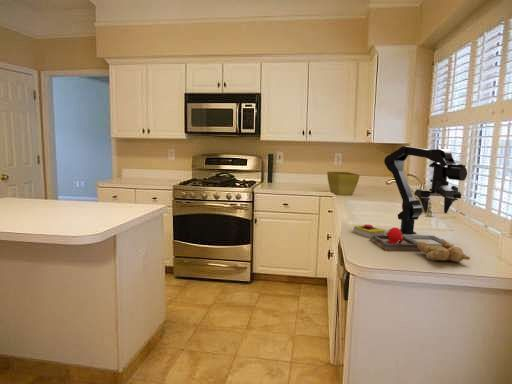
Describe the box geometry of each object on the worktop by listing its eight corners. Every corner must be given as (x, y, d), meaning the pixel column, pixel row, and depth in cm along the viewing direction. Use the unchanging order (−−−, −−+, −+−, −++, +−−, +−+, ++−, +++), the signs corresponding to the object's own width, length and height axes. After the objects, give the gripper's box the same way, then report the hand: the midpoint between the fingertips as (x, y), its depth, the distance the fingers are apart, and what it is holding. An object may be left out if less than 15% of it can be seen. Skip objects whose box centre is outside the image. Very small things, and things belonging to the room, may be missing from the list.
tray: (402, 237, 168) (403, 234, 168) (433, 238, 170) (433, 235, 169) (420, 247, 154) (420, 243, 154) (453, 248, 155) (453, 244, 155)
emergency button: (366, 221, 180) (389, 229, 167) (365, 230, 181) (389, 238, 168) (351, 222, 176) (374, 230, 163) (350, 232, 177) (373, 240, 164)
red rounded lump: (387, 231, 160) (384, 226, 155) (402, 228, 157) (398, 223, 153) (390, 249, 156) (386, 244, 151) (405, 246, 153) (402, 241, 149)
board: (370, 240, 162) (370, 234, 161) (403, 240, 163) (403, 235, 163) (385, 250, 147) (385, 244, 146) (421, 251, 148) (422, 245, 148)
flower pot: (358, 195, 292) (360, 174, 290) (337, 196, 287) (338, 174, 284) (345, 192, 310) (347, 172, 308) (325, 192, 304) (326, 171, 302)
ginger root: (474, 266, 129) (471, 243, 128) (425, 270, 133) (421, 248, 133) (463, 254, 144) (459, 234, 143) (418, 259, 148) (415, 239, 148)
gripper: (429, 179, 155) (425, 216, 158) (471, 181, 157) (467, 217, 159) (415, 176, 166) (412, 211, 168) (455, 178, 168) (451, 212, 170)
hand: (435, 213), depth 166 cm, fingers open, 9 cm apart
